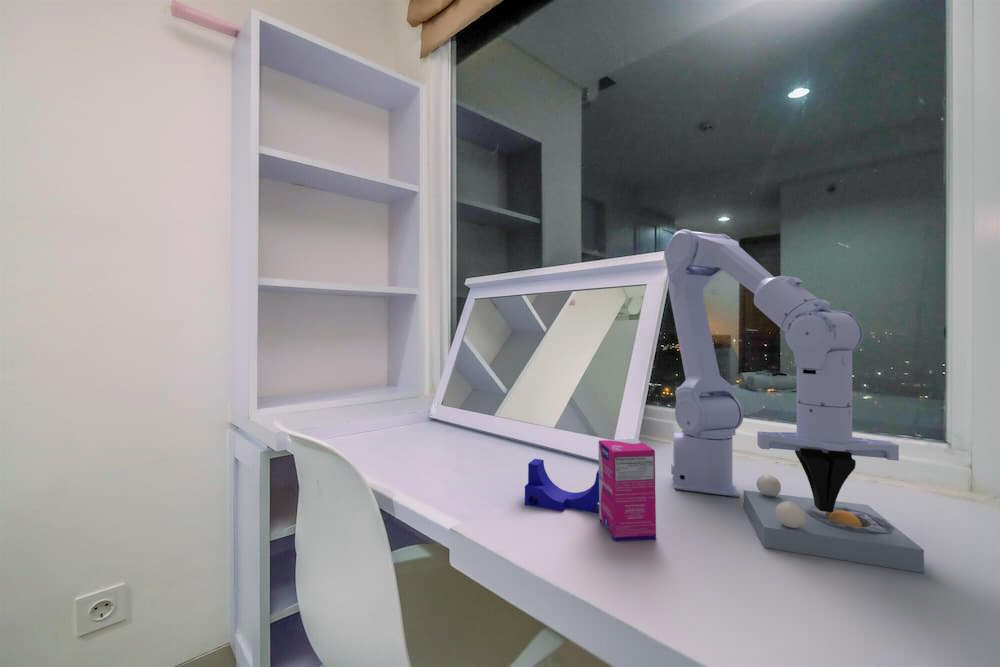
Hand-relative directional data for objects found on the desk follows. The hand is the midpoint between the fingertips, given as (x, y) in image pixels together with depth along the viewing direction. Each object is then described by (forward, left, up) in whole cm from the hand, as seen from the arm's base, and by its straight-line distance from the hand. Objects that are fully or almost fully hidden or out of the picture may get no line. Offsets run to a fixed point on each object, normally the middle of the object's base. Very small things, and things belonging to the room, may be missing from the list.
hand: (823, 508), depth 54 cm
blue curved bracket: (-33, -3, -4) cm, 33 cm away
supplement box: (-24, -8, -4) cm, 26 cm away
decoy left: (-5, +5, +1) cm, 7 cm away
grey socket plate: (0, 0, -3) cm, 3 cm away
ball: (+2, 0, -2) cm, 3 cm away
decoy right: (-5, -5, +1) cm, 7 cm away
